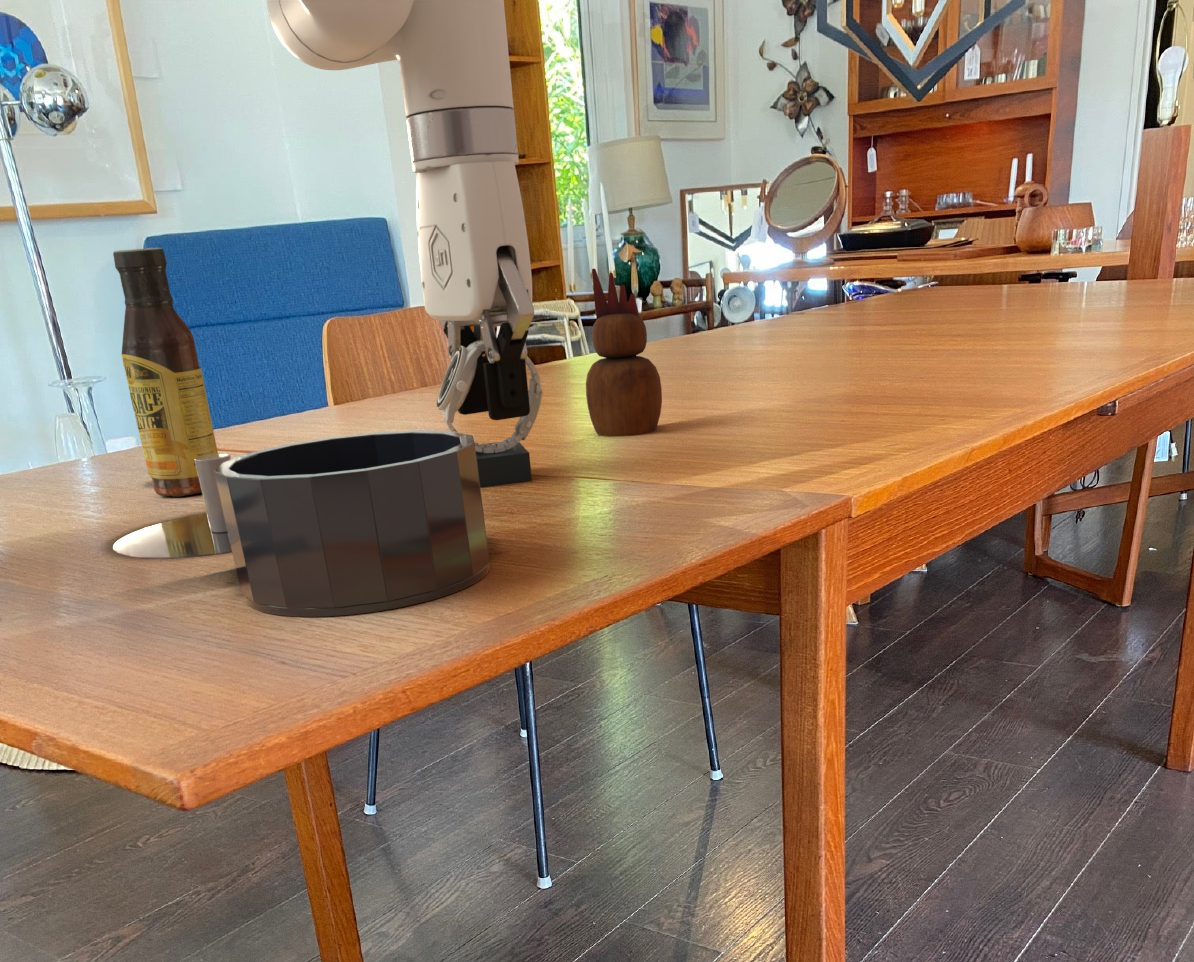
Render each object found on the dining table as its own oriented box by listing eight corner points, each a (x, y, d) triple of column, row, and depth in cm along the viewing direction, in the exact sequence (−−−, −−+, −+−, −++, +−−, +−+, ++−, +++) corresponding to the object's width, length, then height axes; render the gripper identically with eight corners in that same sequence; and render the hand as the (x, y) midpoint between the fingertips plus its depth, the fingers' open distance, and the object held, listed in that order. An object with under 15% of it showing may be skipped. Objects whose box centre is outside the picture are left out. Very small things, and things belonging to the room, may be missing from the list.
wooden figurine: (579, 448, 108) (563, 271, 102) (613, 437, 112) (600, 267, 106) (641, 449, 104) (629, 266, 98) (674, 437, 109) (664, 261, 102)
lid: (139, 588, 73) (114, 490, 71) (100, 547, 86) (77, 463, 83) (373, 540, 80) (357, 449, 77) (305, 509, 92) (289, 430, 90)
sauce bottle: (143, 495, 105) (82, 253, 97) (207, 482, 109) (155, 248, 100) (172, 502, 101) (111, 249, 92) (239, 488, 104) (186, 243, 96)
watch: (444, 488, 93) (425, 343, 88) (542, 476, 95) (529, 332, 90) (452, 504, 89) (433, 351, 83) (555, 491, 90) (542, 340, 85)
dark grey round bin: (285, 634, 61) (255, 490, 58) (219, 582, 73) (190, 459, 70) (531, 577, 67) (516, 444, 64) (433, 538, 79) (416, 423, 76)
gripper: (371, 159, 87) (407, 413, 95) (464, 132, 73) (497, 431, 81) (462, 155, 90) (490, 401, 98) (568, 128, 76) (590, 416, 84)
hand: (493, 412), depth 89 cm, fingers closed on watch, 4 cm apart
